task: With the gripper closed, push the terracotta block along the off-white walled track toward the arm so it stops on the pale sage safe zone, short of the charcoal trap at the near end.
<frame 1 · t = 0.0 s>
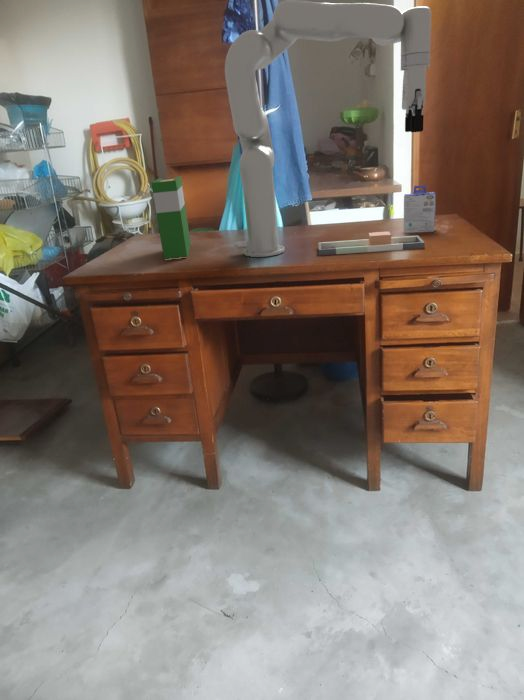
hand: (413, 131, 145), 31 cm above the table, tool pointing down, fingers open, 9 cm apart
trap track: (369, 249, 154), on the table
ink cartridge box: (418, 232, 171), on the table
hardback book: (178, 254, 174), on the table
terracotta block: (379, 247, 153), resting on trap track
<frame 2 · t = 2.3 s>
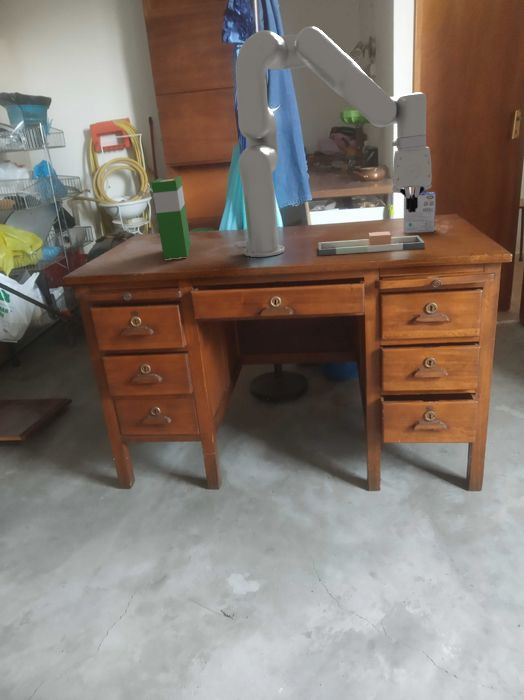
hand: (411, 211, 148), 10 cm above the table, tool pointing down, fingers closed
nothing on the table moved.
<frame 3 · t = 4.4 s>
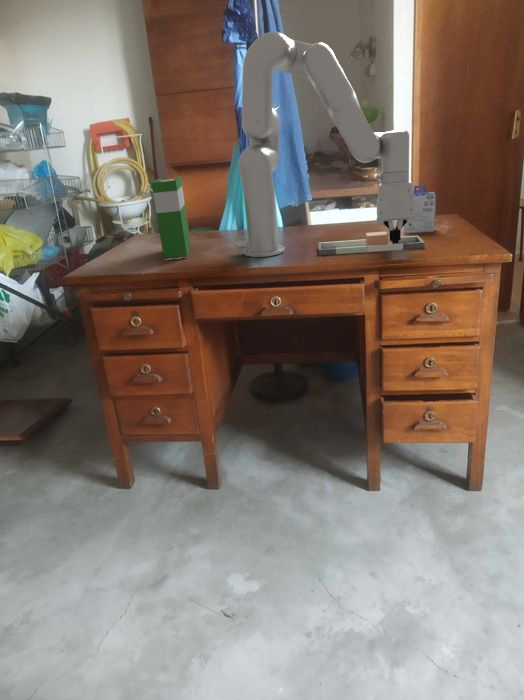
hand: (395, 242, 152), 1 cm above the table, tool pointing down, fingers closed
terracotta block: (376, 247, 153), resting on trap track, touching gripper
everything else where it was.
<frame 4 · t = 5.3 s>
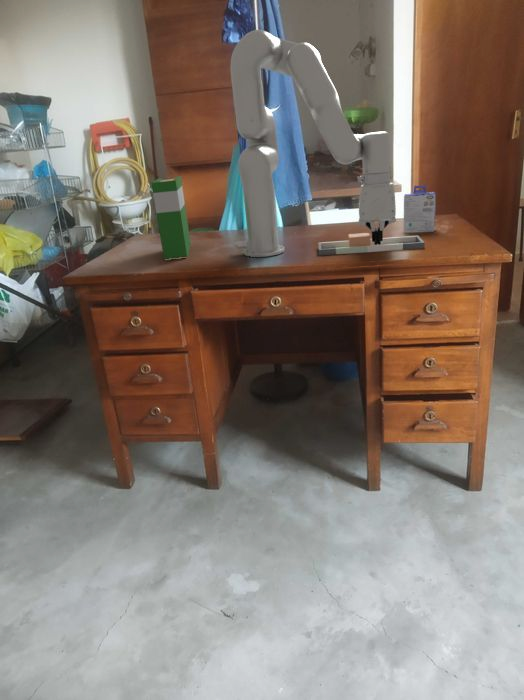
hand: (377, 243, 153), 1 cm above the table, tool pointing down, fingers closed
terracotta block: (359, 248, 154), resting on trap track, touching gripper
everything else where it was.
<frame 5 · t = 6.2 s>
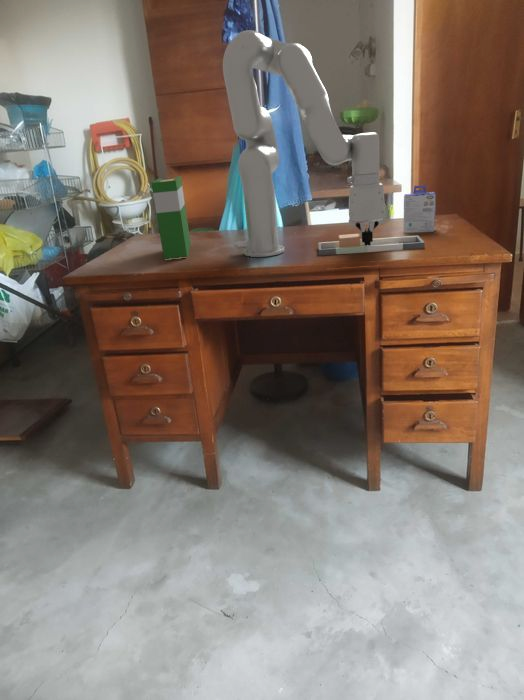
hand: (367, 244, 153), 1 cm above the table, tool pointing down, fingers closed
terracotta block: (349, 249, 154), resting on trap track, touching gripper
everything else where it was.
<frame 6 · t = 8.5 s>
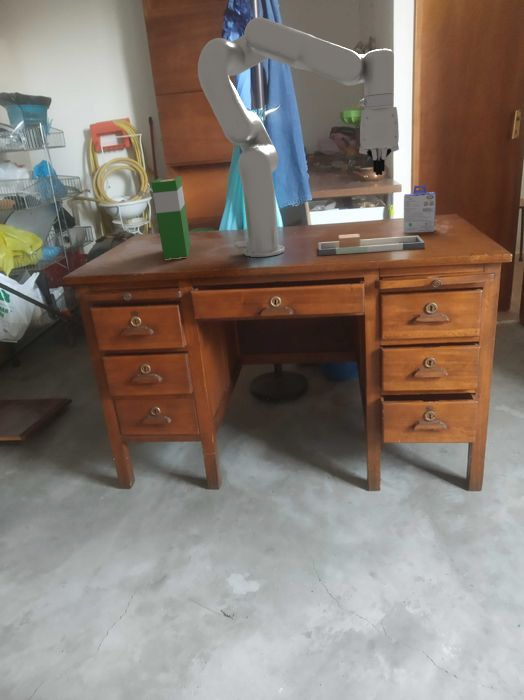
hand: (378, 174, 145), 21 cm above the table, tool pointing down, fingers closed
terracotta block: (349, 249, 154), resting on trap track
everything else where it was.
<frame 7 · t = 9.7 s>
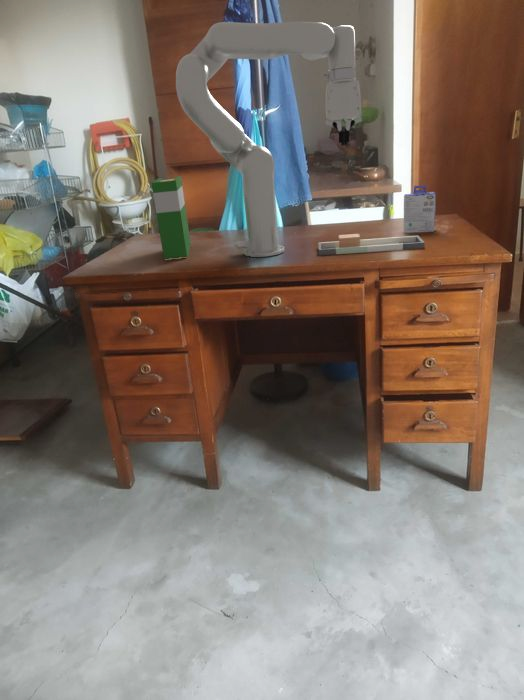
hand: (344, 145, 155), 29 cm above the table, tool pointing down, fingers closed
nothing on the table moved.
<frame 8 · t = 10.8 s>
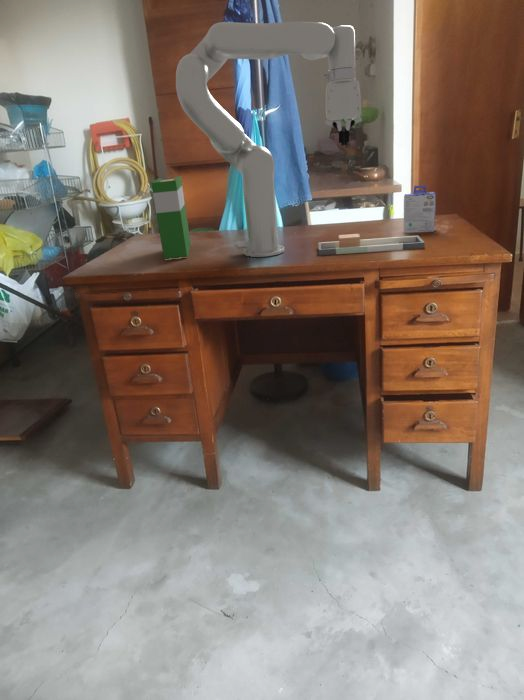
hand: (344, 145, 155), 29 cm above the table, tool pointing down, fingers closed
nothing on the table moved.
at the end: terracotta block inside the target area (0.7 cm from its centre), resting on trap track; terracotta block tilted 0°; terracotta block moved 8.9 cm from its start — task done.
